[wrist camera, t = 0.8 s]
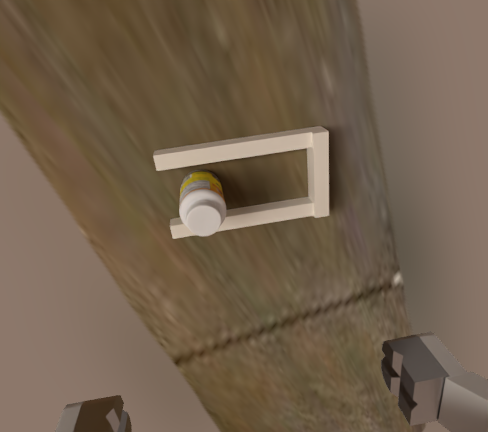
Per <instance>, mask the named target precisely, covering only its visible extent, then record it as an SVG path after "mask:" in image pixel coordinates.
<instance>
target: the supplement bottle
mask: <svg viewBox="0 0 488 432" xmlns="http://www.w3.org/2000/svg"><path fill="white" fill-rule="evenodd" d="M179 213H180V218H181V220H182V222H183V223H184V225H185V226H186V227H188V228H189V230H190V231H191V232H192V233H194V234H196V235H198V236H209V235H212V234H214V233H215V232H216V231H217V230H218V229H219V228H220V225H221V224H222V223H223V221H224V220H225V217H226V204H225V200H224V195H223V191H222V187H221V183H220V181H219V179H218V178H217V177H216V176H215V175H214V174H213V173H211V172H209V171H206V170H196V171H193V172H191V173H189V174H188V175H187V176H186V177H185V178H184V179H183V181H182V184H181V189H180V207H179Z"/></svg>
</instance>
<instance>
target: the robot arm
mask: <svg viewBox="0 0 488 432" xmlns="http://www.w3.org/2000/svg"><path fill="white" fill-rule="evenodd" d="M382 351H383V353H384V355H385V357H384V358H383V359H382V360H381V370H382V374H383V378H384V381H385V383H386V385H387V387H388V389H389V391H390V392H391V393H392V394H394V395H396V396H397V397H399V398H398V406H399V408H400V410H401V411H402V413H403V415H404V416H405V418H406V420H407V422H408V423H409V425H410V426H411V425H416V424H422V423H427V422H432V421H438V422H439V423H440V424H441V425H443V426H444V427H445V428H447V429H448V430H449V431H451V432H488V379H486V378H484V377H482V376H480V375H478V374H476V373H474V372H469V373H468V372H467V371H466V370H465V369H464V368H463V366H462V365H461V364H460V363H459V362H458V361H457V360H456V358H455V357H454V356H453V355H452V354H451V353H450V351H449V350H448V349H447V348H446V347H445V346H444V344H443V343H442V342H441V341H440V340H439V339H438V337H437V336H436V335H435V334H434V333H432V332H427V333H421V334H417V335H411V336H406V337H401V338H397V339H392V340H387V341H384V342H383V344H382ZM123 404H124V403H123V400H122V398H121V396H120V395H119V396H118V395H117V396H112V397H106V398H101V399H95V400H89V401H84V402H78V403H73V404H68V405H66V407H65V408H64V409H63V411H62V414H61V417H60V420H59V422H58V425H57V428H56V431H55V432H131V422H130V417H129V415H128V413H127V412H125V411H124V410H123Z"/></svg>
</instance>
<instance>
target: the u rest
mask: <svg viewBox="0 0 488 432" xmlns="http://www.w3.org/2000/svg"><path fill="white" fill-rule="evenodd" d="M304 148H307V165H308V196H309V197H303V198H297V199H290V200H284V201H278V202H272V203H266V204H260V205H254V206H247V207H241V208H235V209H229V210H226V217H225V220H224V221H223V223H222V224H221V225H220V228H219V229H218V230H217V231H223V230H229V229H235V228H241V227H247V226H253V225H259V224H265V223H271V222H277V221H283V220H289V219H295V218H301V217H307V216H313V215H314V217H315V218H318V217H324V216H329V131H328V130H326V129H325V128H323V127H322V126H317V127H310V128H303V129H297V130H290V131H283V132H277V133H270V134H263V135H256V136H250V137H243V138H236V139H229V140H223V141H216V142H209V143H203V144H196V145H189V146H182V147H176V148H169V149H162V150H156V151H154V155H153V157H154V161H155V165H156V170H157V171H160V170H167V169H173V168H180V167H186V166H193V165H199V164H206V163H213V162H219V161H226V160H232V159H239V158H245V157H252V156H258V155H265V154H271V153H278V152H285V151H291V150H298V149H304ZM170 229H171V233H172V237H173V239H175V238H181V237H187V236H193V235H196V234H194V233H192V232H191V231H190V230H189V228H188V227H186V226H185V225H184V223H183V222H182V220H181V218H173V219H171V221H170ZM217 231H216V232H217Z"/></svg>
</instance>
